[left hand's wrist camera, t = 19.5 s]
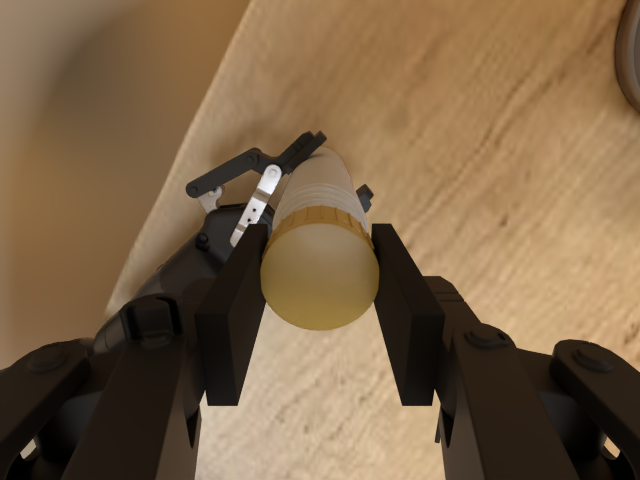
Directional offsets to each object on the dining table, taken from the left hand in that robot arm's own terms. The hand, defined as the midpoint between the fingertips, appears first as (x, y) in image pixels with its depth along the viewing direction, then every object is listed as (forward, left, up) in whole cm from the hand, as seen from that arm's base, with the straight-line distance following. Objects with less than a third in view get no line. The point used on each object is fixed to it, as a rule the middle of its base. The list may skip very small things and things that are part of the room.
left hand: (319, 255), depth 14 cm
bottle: (0, 0, -19) cm, 19 cm away
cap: (0, 0, +2) cm, 2 cm away
